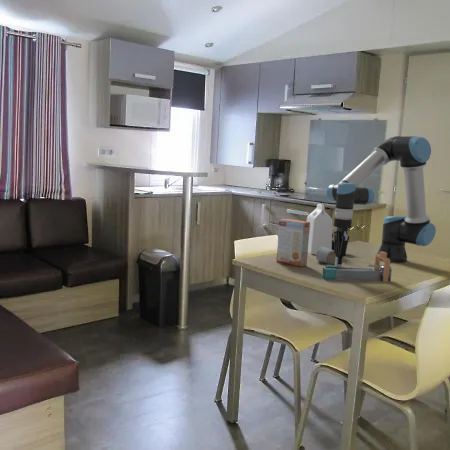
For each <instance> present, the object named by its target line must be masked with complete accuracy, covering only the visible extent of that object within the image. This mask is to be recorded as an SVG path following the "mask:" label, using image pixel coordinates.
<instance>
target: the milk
mask: <svg viewBox="0 0 450 450" xmlns="http://www.w3.org/2000/svg"><path fill="white" fill-rule="evenodd" d="M305 222H310V231H309V243H308V254H309V253H310V254H309V255H311V254H315V256H316V253H317V250H318V249H319V248H320V247H326V248H329V249H331V248H332V227H333V219H332V217H331V216H330V215H329V214H328V213H327V212H326V210H325V205H324V204H321V203H317V205H316V208H315V209H314V210H313V211H311V213H309V214H308V215H307V217H306V221H305Z"/></svg>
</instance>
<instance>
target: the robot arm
mask: <svg viewBox="0 0 450 450" xmlns="http://www.w3.org/2000/svg"><path fill="white" fill-rule="evenodd" d="M431 155H432V147H431V144H430V141H429V140H428V139H427V138H425V137H423V136H416V135H413V136H412V135H411V136H409V135H407V136H399V135H398V136H391V137H389V138H388V139H385V140H384V141H382V142H380V143H379V144H378V145H377V146H375V147H374V148H373V149H372V150H371V153H370V154H369V155H368V156H367V157H366V158H365V159H364V160H362V162H361V163H359V164H358V165H357V166H356V167H355V168H354V169H352V170H351V172H349V173H348V174H347V175H346V176H345V177H344V178H342V180H341V181H339V182H338V183H337V184H336V183H332V184H329V186H328V187H327V188H326V196H327V198H328V200H331V201H335V210H333V212H334V217H335V218H334V220H333V227H336V228H337V231H336V232H334V253H335V255H336V259H335V263H334V265H335V266H343V259H344V257H346V254H347V250H348V244H349V240H350V236H348V235H349V233H348V229H351V228H352V224H353V220H352V218H353V215H354V205H355V206H356V205H363V206H365V205H370V204H372V202H374V200H375V192H374V191H373V189H372V188H370V187H360V186H361V185H362V184H363V183H364V182H365V181H367V180H368V179H369V178H370V177H371V176H372V175H373V174H375V173H376V172H377V170H379V169H380V168H381V167H382V166H386V165H387V164H388V163H390V162H393V161H396V162H397V161H398V162H399V163H400V167H401V169H403V170H404V172H403V174H404V185H405V186H404V187H405V199H406V213H407V215H393V216H392V215H390V216H389V215H388V216H385V217H384V219H383V224H382V235H381V243H380V246H379V248H378V251H377V253H376V254H379V252H386V253H387V257H386V258H388V259H390V263H397V264H398V263H403V264H404V263H406V262H407V261H408V254H407V250H406V244H410V245H415V246H420V247H421V246H422V247H426V246H429V245H431V243H432V242H433V240H434V238H435V236H436V231H437V230H436V225H434V223H431V218H430V216H428V215H427V207H426V194H425V193H426V191H425V177H424V175H425V173H424V167H425V166H426V165H427V162H428V161H429V160H430V159H431ZM380 261H383V260H381V259H380ZM383 262H384V261H383Z"/></svg>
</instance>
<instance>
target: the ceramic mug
mask: <svg viewBox="0 0 450 450" xmlns="http://www.w3.org/2000/svg"><path fill="white" fill-rule="evenodd" d="M315 258H316V261H318V262H319V263H323V264H325V265H335V259H336V255H335V253H334V250H331V249H329V248H326V247H320V248H319V249H318V250H317V253H316V255H315Z"/></svg>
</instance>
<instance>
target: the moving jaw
mask: <svg viewBox="0 0 450 450" xmlns="http://www.w3.org/2000/svg"><path fill="white" fill-rule="evenodd" d="M374 267H376V268H379V269H380V268H381V269H384V265H381V264H380V265H375V263H374V264H373V263H369V264H368V267H361V266H359V267H357V266H345V265H344V266H343V265H342V266H335V264H332V265H329V264H325V268H335V269H362V270H374ZM391 269H392V266H390V267H389V270H391Z"/></svg>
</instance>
